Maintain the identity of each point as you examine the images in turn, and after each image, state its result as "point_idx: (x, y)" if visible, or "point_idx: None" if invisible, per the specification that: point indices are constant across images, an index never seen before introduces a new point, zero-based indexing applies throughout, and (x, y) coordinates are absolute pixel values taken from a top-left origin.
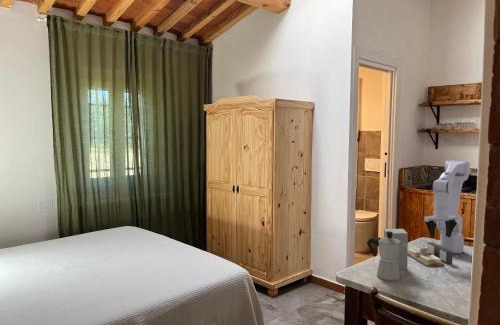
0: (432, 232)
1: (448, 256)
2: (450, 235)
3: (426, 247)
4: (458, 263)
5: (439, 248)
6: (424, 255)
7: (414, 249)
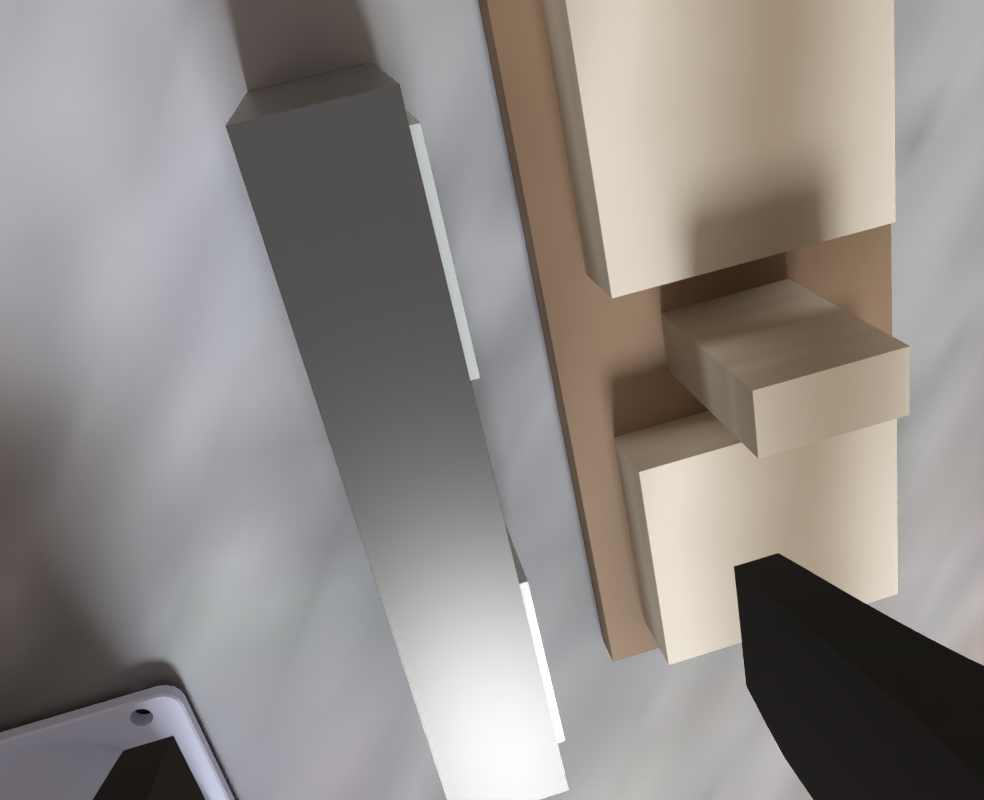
0: (951, 661)
1: (353, 80)
2: (106, 796)
3: (760, 445)
4: (89, 148)
5: (478, 420)
6: (800, 247)
7: None
